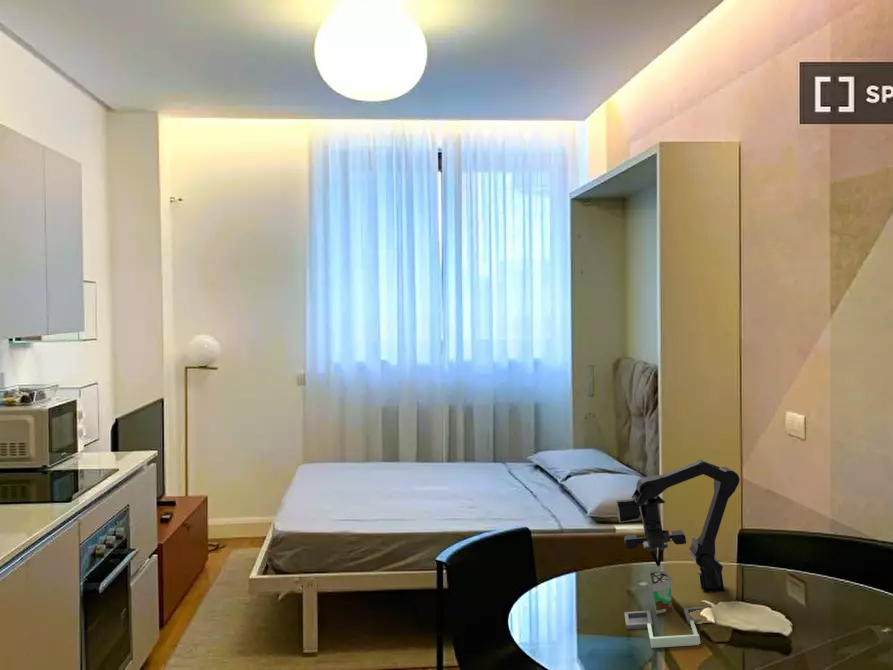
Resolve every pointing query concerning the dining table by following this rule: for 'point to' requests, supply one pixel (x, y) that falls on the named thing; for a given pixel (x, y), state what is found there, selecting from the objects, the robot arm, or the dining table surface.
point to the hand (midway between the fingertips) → (658, 565)
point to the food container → (661, 591)
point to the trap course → (644, 621)
